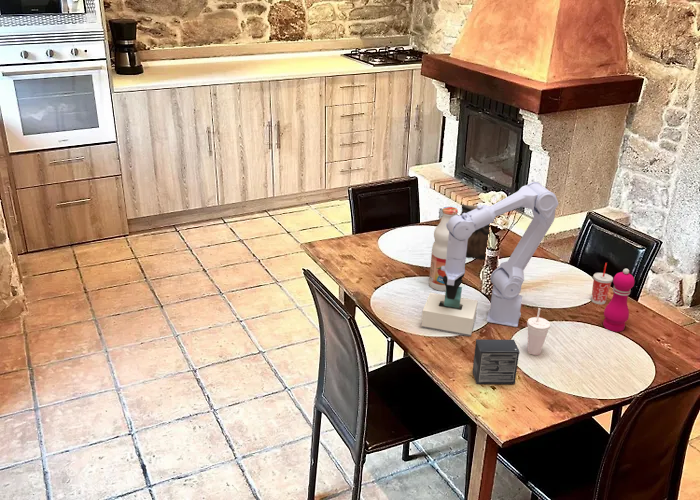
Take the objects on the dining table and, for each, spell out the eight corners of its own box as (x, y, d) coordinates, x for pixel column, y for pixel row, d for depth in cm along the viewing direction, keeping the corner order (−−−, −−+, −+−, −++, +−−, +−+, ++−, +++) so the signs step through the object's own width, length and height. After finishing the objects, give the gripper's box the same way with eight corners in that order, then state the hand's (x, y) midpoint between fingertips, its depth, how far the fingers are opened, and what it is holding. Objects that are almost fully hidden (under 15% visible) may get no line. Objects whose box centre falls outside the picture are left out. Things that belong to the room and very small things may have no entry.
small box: (509, 370, 186) (514, 338, 182) (515, 385, 180) (520, 351, 176) (471, 370, 186) (475, 337, 181) (476, 384, 180) (480, 351, 175)
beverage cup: (587, 302, 224) (594, 264, 218) (590, 294, 229) (597, 257, 223) (606, 307, 221) (614, 268, 215) (609, 299, 226) (617, 261, 220)
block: (459, 304, 207) (462, 287, 204) (458, 308, 205) (460, 290, 202) (445, 301, 208) (447, 284, 205) (443, 305, 206) (445, 288, 203)
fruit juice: (444, 277, 237) (452, 202, 226) (462, 288, 230) (470, 211, 218) (423, 282, 233) (429, 206, 221) (440, 294, 225) (448, 216, 214)
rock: (497, 259, 252) (504, 209, 244) (468, 263, 248) (474, 212, 239) (479, 245, 263) (485, 197, 255) (451, 250, 258) (456, 200, 250)
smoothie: (528, 343, 200) (535, 301, 194) (549, 351, 196) (556, 308, 190) (518, 351, 195) (525, 309, 189) (539, 360, 191) (547, 317, 186)
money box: (475, 317, 212) (477, 300, 210) (470, 336, 202) (472, 319, 199) (428, 309, 216) (430, 292, 213) (421, 327, 205) (422, 310, 203)
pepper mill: (610, 333, 206) (623, 275, 198) (596, 322, 212) (608, 264, 204) (630, 331, 208) (644, 273, 199) (616, 319, 214) (629, 262, 206)
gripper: (446, 244, 207) (442, 283, 212) (438, 263, 194) (434, 304, 200) (469, 247, 205) (465, 287, 211) (463, 267, 192) (458, 309, 198)
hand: (451, 296), depth 205 cm, fingers closed on block, 2 cm apart
